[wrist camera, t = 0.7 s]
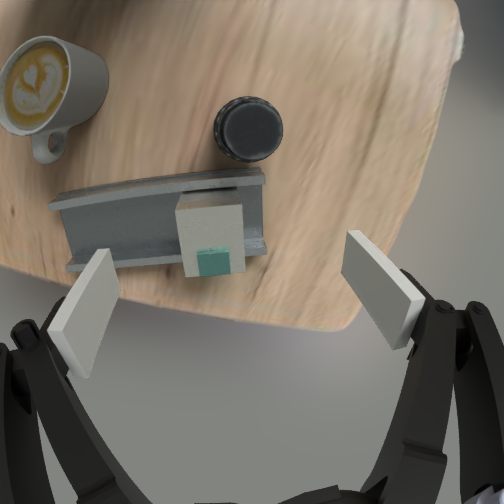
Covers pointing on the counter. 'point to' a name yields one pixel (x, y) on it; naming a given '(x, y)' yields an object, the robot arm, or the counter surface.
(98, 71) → the coffee mug
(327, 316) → the counter surface
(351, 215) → the counter surface
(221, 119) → the pill bottle
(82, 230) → the rail
